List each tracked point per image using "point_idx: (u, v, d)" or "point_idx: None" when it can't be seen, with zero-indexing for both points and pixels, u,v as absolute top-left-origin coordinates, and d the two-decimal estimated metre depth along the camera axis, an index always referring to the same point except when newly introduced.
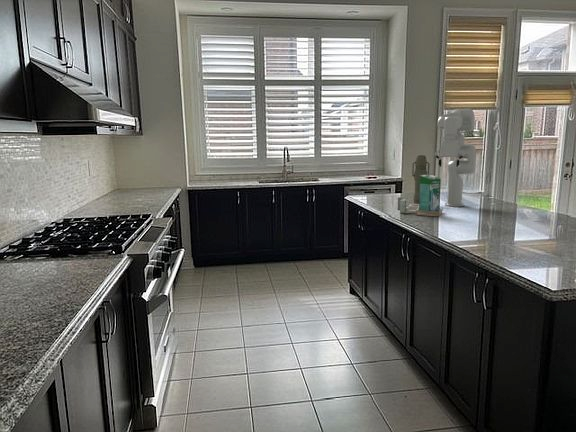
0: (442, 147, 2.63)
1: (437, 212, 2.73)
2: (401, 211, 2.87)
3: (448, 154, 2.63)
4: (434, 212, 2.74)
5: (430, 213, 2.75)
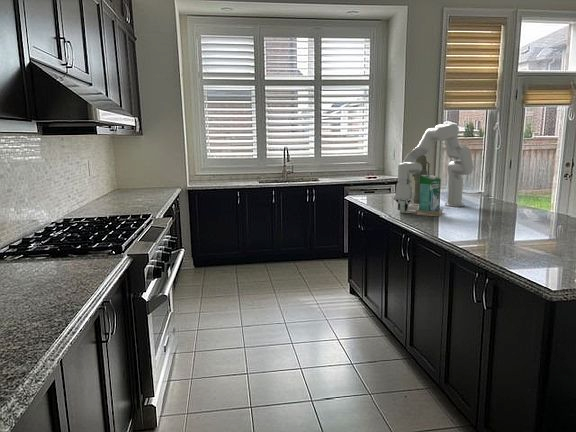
0: (396, 190, 2.86)
1: (437, 212, 2.73)
2: (401, 211, 2.87)
3: (402, 197, 2.86)
4: (434, 212, 2.74)
5: (430, 213, 2.75)
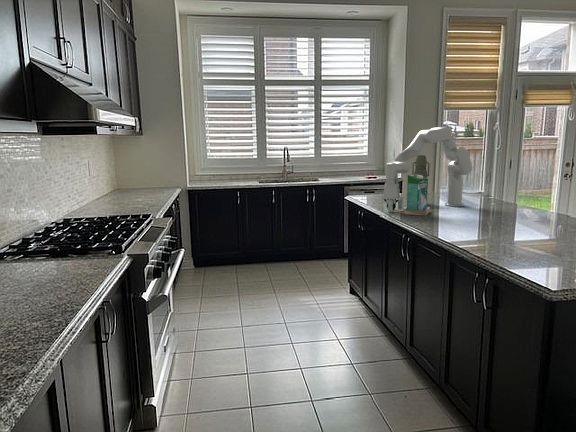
0: (384, 190, 2.90)
1: (424, 212, 2.76)
2: (389, 210, 2.90)
3: (390, 197, 2.89)
4: (422, 212, 2.77)
5: (417, 212, 2.78)
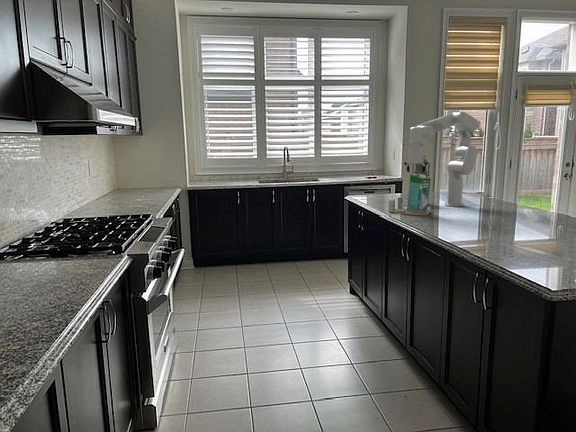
0: (409, 155, 2.87)
1: (425, 212, 2.76)
2: (390, 210, 2.90)
3: (414, 161, 2.87)
4: (422, 212, 2.77)
5: (418, 212, 2.78)
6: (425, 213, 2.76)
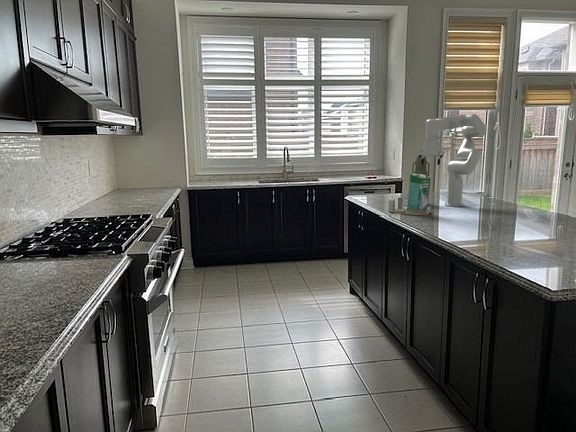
0: (424, 147, 2.87)
1: (425, 212, 2.76)
2: (390, 210, 2.90)
3: (429, 154, 2.87)
4: (422, 212, 2.77)
5: (418, 212, 2.78)
6: (425, 213, 2.76)
